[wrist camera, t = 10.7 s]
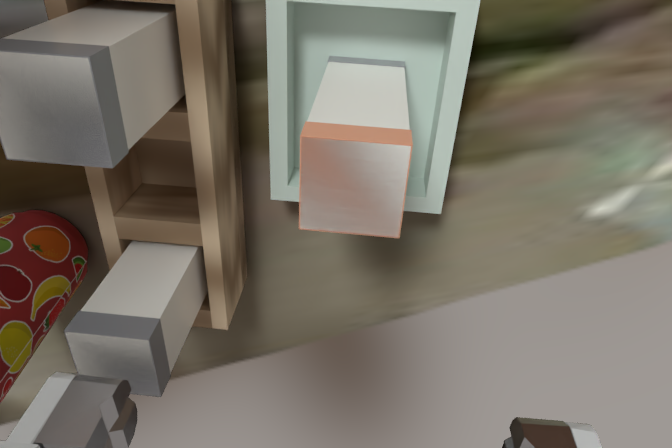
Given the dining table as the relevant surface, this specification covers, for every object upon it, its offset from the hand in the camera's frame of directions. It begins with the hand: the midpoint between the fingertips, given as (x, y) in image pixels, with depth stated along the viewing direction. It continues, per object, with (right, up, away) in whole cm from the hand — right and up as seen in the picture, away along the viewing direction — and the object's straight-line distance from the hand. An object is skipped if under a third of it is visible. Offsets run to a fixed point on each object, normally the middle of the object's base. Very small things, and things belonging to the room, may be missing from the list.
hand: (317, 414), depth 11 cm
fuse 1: (-9, +14, +16) cm, 23 cm away
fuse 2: (-9, +3, +23) cm, 25 cm away
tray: (+2, +12, +18) cm, 22 cm away
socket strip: (-9, +9, +21) cm, 25 cm away
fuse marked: (+2, +11, +18) cm, 21 cm away
